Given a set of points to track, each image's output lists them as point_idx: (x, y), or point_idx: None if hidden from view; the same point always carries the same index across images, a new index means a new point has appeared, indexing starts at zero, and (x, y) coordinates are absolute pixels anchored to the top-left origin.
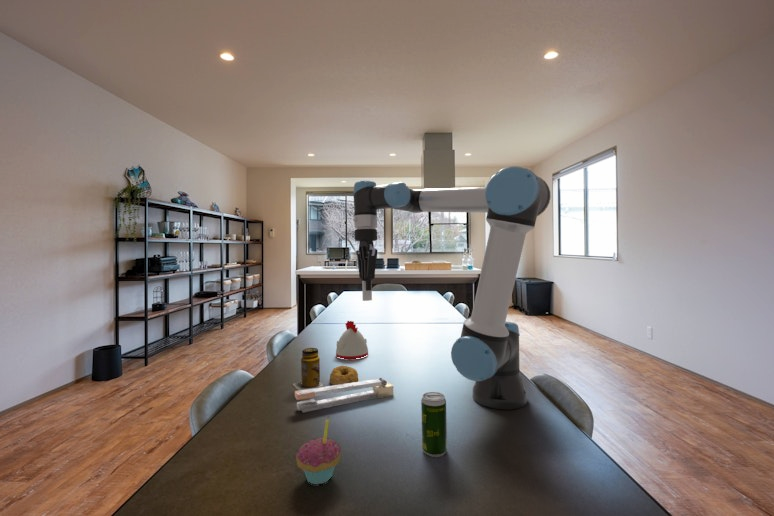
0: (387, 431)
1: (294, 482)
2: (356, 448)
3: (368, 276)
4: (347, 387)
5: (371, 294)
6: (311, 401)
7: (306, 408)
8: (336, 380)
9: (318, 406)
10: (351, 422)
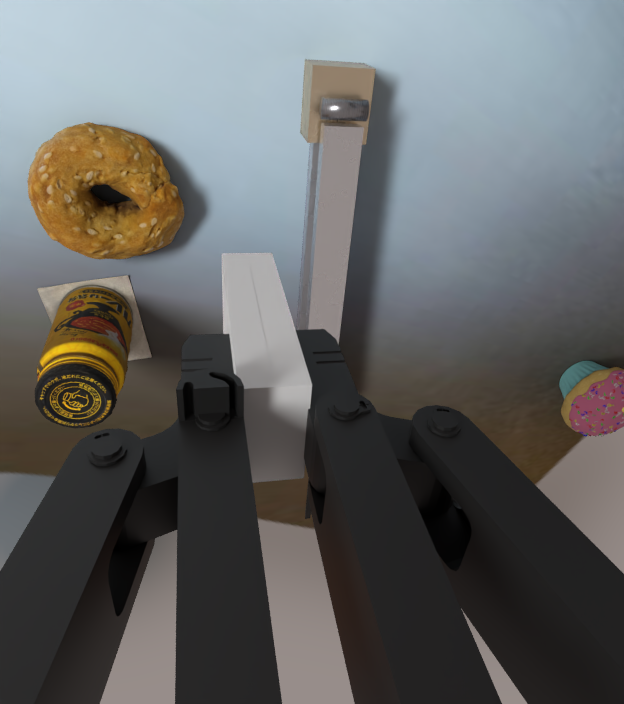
0: (550, 211)
1: (558, 408)
2: (554, 301)
3: (457, 506)
4: (346, 271)
5: (280, 285)
6: None
7: None
8: (158, 246)
9: None
10: (449, 275)
